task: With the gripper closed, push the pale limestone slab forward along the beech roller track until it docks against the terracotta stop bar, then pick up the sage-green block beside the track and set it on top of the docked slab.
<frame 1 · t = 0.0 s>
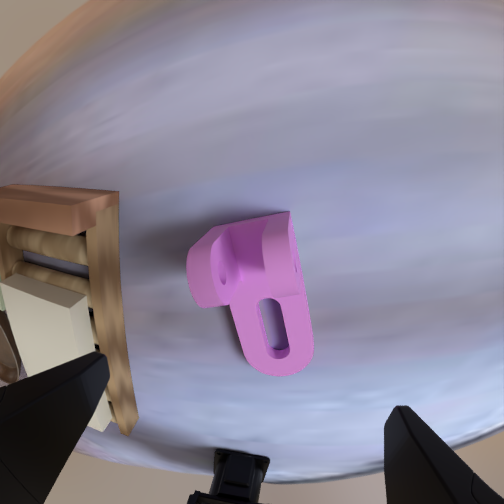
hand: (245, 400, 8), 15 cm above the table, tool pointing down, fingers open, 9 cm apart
bracket: (270, 299, 24), on the table
slab: (61, 352, 26), point 2 cm above the table, touching roller track
roller track: (69, 321, 27), on the table
block: (12, 277, 27), on the table
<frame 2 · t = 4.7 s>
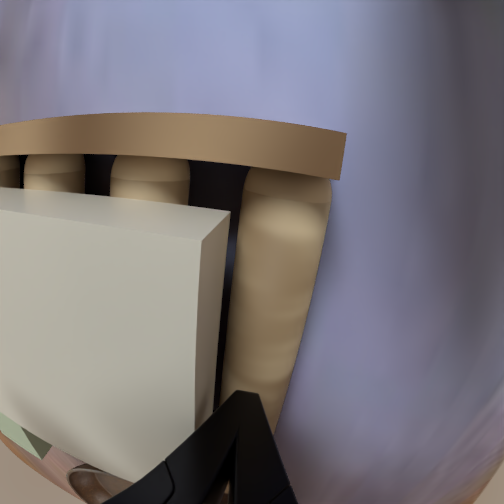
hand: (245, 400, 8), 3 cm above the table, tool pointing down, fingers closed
slab: (26, 313, 10), point 2 cm above the table, touching gripper, roller track
roller track: (35, 281, 12), on the table
plant saucer: (179, 499, 18), on the table
block: (40, 394, 15), on the table
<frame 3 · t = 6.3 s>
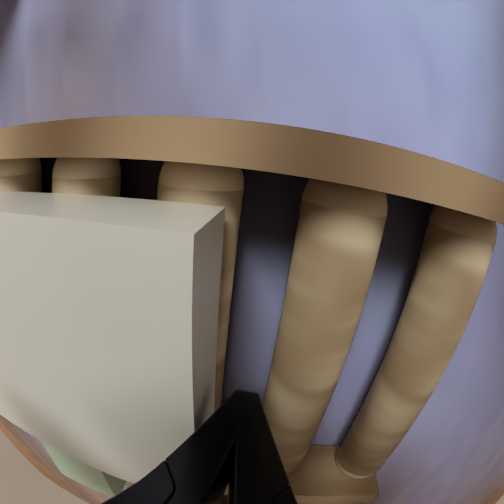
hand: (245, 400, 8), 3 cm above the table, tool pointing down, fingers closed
slab: (26, 316, 10), point 2 cm above the table, touching gripper, roller track
roller track: (130, 312, 12), on the table
block: (106, 427, 15), on the table
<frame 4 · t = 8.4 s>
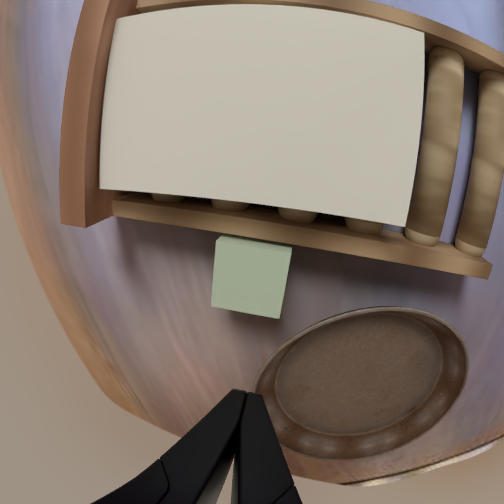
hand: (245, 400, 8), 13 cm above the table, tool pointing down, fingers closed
slab: (258, 103, 15), point 2 cm above the table, touching roller track
roller track: (327, 118, 17), on the table
plant saucer: (361, 379, 23), on the table
block: (258, 256, 20), on the table
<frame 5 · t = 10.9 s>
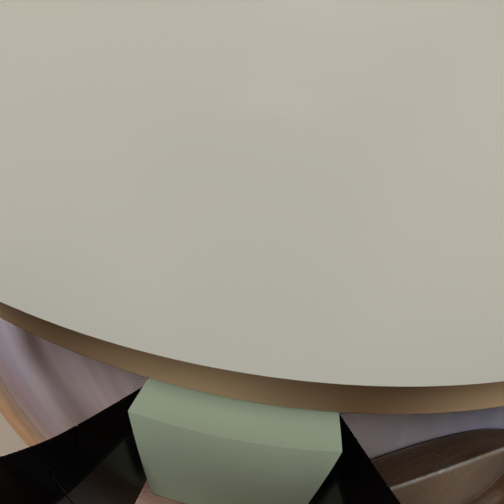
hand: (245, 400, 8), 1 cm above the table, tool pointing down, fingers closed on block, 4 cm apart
roller track: (415, 66, 6), on the table
plant saucer: (402, 495, 12), on the table
block: (251, 377, 9), on the table, touching gripper
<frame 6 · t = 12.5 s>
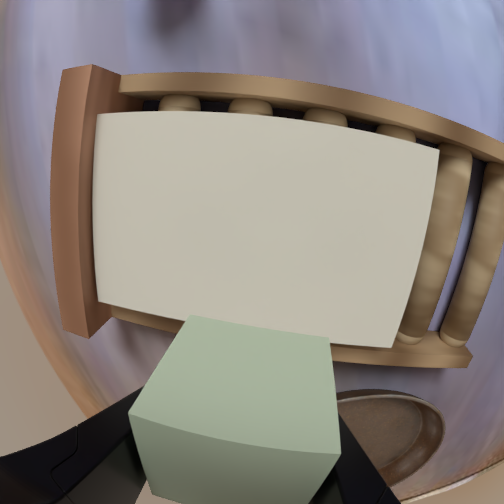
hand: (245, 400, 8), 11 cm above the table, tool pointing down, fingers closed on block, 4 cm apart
slab: (254, 220, 16), point 2 cm above the table, touching roller track
roller track: (324, 222, 18), on the table
plant saucer: (346, 438, 23), on the table
block: (250, 378, 9), point 10 cm above the table, touching gripper
when the fingers open (7 cm above the table, at t = 13.9 s): block drops 1 cm, resting on slab.
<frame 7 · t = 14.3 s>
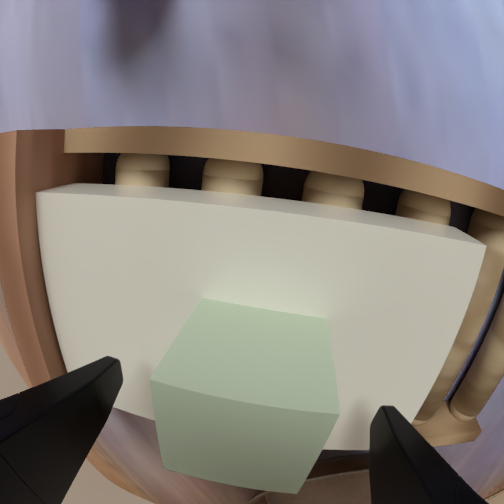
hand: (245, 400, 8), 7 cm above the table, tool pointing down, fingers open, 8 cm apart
slab: (241, 318, 12), point 2 cm above the table, touching block, roller track
roller track: (329, 305, 14), on the table
plant saucer: (346, 487, 20), on the table
block: (255, 358, 10), point 5 cm above the table, touching slab
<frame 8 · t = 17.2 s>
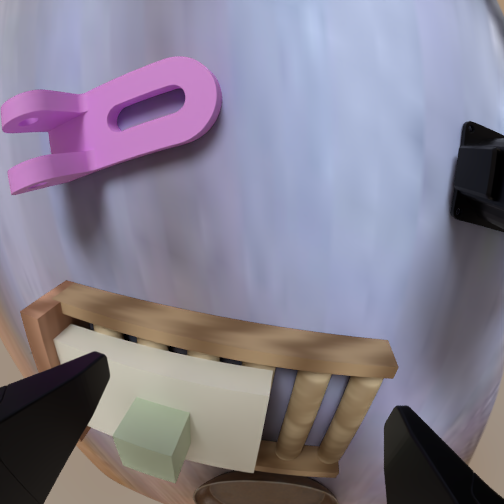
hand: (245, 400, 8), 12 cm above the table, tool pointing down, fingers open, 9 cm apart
bracket: (130, 119, 18), on the table
slab: (163, 396, 22), point 2 cm above the table, touching block, roller track
roller track: (218, 388, 24), on the table
plant saucer: (267, 491, 30), on the table
block: (164, 421, 19), point 5 cm above the table, touching slab
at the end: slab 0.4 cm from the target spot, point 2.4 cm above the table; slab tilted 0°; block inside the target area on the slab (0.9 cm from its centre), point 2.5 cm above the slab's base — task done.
